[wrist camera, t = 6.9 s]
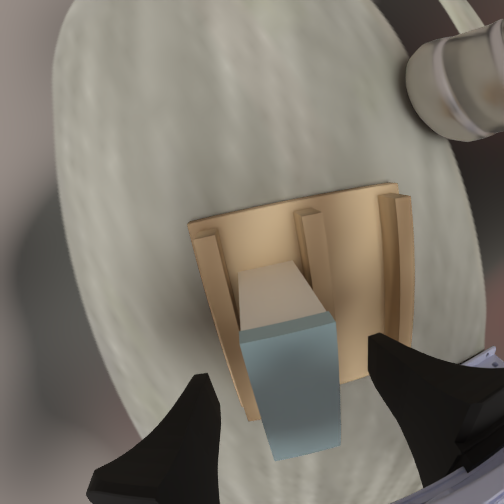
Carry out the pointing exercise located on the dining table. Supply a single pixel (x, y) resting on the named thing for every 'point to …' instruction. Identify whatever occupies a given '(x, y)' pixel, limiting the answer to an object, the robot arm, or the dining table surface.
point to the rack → (316, 268)
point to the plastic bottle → (460, 83)
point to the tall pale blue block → (290, 360)
